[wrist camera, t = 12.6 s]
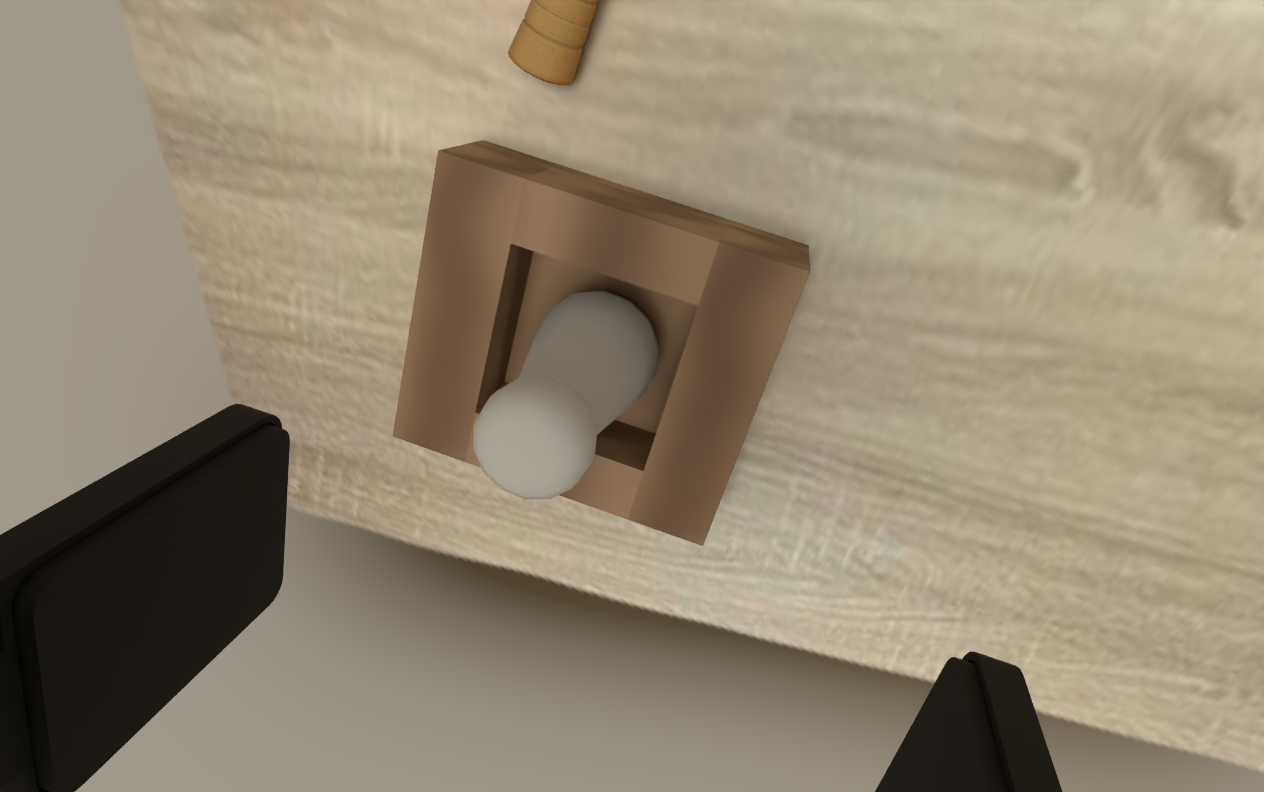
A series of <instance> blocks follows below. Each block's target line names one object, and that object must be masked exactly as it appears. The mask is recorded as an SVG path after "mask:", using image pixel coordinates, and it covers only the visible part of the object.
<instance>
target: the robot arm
mask: <svg viewBox="0 0 1264 792" xmlns="http://www.w3.org/2000/svg"><path fill="white" fill-rule="evenodd" d="M289 445H290V439H289V434H288V432H287V431H286V430H284V429H282V424H281V422H280V419H279V418H278V417H276V416H275V415H272V414H269V413H266V412H263V411H260V410H257V409H254V408H251V407H248V406H245V405H242V404H234V405H231V406H229V407H227V408H225V409H224V410H222V411H220V412H218V413H217V414H215V415H213V416H211V417H209V418H207V419H206V420H204V421H202V422H200V423H199V424H197V425H195V426H193V427H191V428H190V429H188V430H186V431H184V432H183V433H181V434H179V435H178V436H175V437H174V438H172V439H170V440H168V441H167V442H165V443H163V444H161V445H159V446H158V447H156V448H154V449H152V450H151V451H149V452H147V453H145V454H143V455H142V456H140V457H138V458H136V459H134V460H133V461H131V462H129V463H127V464H126V465H124V466H122V467H120V468H118V469H117V470H115V471H113V472H111V473H110V474H108V475H106V476H104V477H102V478H101V479H99V480H97V481H95V482H94V483H92V484H90V485H88V486H86V487H85V488H83V489H81V490H79V491H78V492H76V493H74V494H72V495H70V496H69V497H67V498H65V499H63V500H61V501H60V502H58V503H56V504H54V505H53V506H51V507H49V508H47V509H45V510H44V511H42V512H40V513H39V514H37V515H35V516H33V517H31V518H29V519H28V520H26V521H24V522H22V523H21V524H19V525H17V526H15V527H13V528H12V529H10V530H8V531H6V532H5V533H3V534H1V535H0V792H74V791H76V790H77V789H78V788H79V787H81V786H82V785H83V784H84V783H85V782H86V781H87V780H88V779H89V778H90V777H91V776H92V775H93V774H94V773H96V772H97V771H98V770H99V769H100V768H101V767H102V766H103V765H104V764H105V763H106V762H107V761H108V760H109V759H110V758H111V757H112V756H113V755H114V754H115V753H116V752H117V751H118V750H119V749H120V748H122V746H124V745H125V743H127V742H128V741H129V740H130V739H131V738H132V737H133V736H134V735H135V734H136V733H137V732H138V731H139V730H140V729H141V728H142V727H143V726H144V725H145V724H146V723H147V722H149V721H150V720H151V719H152V717H154V716H155V715H156V714H157V713H158V712H159V711H160V710H161V709H162V708H163V707H164V706H165V705H166V704H167V703H168V702H169V701H170V700H171V699H172V698H173V697H174V696H176V695H177V693H179V692H180V691H181V689H183V688H184V687H185V686H186V685H187V684H188V683H189V682H190V681H191V680H192V679H193V678H194V677H195V676H196V675H197V674H198V673H199V672H200V671H201V670H202V669H204V668H205V667H206V665H208V664H209V663H210V662H211V661H212V660H213V659H214V658H215V657H216V656H217V655H218V654H219V653H220V652H221V651H222V650H223V649H224V648H225V647H226V646H227V645H228V644H230V643H231V642H232V641H233V640H234V639H235V638H236V637H237V636H238V635H239V634H240V633H241V632H242V631H243V630H244V629H245V628H246V627H247V626H248V625H249V624H250V623H251V622H252V621H253V620H254V619H256V618H257V616H259V615H260V614H261V613H262V612H263V611H264V610H265V609H266V608H267V607H268V606H269V605H270V604H271V603H272V602H273V600H274V599H275V597H276V596H277V594H278V592H279V590H280V587H281V584H282V580H283V566H284V564H283V563H284V546H285V525H286V505H287V485H288V465H289ZM875 792H1062V789H1061V786H1060V784H1059V780H1058V777H1057V774H1056V772H1055V769H1054V766H1053V763H1052V760H1051V757H1050V754H1049V751H1048V748H1047V745H1046V742H1045V739H1044V736H1043V733H1042V730H1041V727H1040V724H1039V721H1038V718H1037V715H1036V712H1035V709H1034V706H1033V703H1032V700H1031V697H1030V694H1029V691H1028V688H1027V685H1026V682H1025V679H1024V676H1023V674H1022V672H1021V670H1020V668H1018V667H1017V666H1015V665H1012V664H1009V663H1006V662H1003V661H1000V660H997V659H994V658H991V657H988V656H985V655H982V654H979V653H977V652H969V653H968V654H966V655H965V656H964V658H963V659H962V660H961V659H958V658H955V657H952V658H950V659H949V660H948V661H947V663H946V664H945V666H944V668H943V669H942V671H941V673H940V675H939V677H938V679H937V680H936V682H935V684H934V686H933V688H932V689H931V691H930V693H929V695H928V697H927V698H926V700H925V702H924V704H923V706H922V708H921V709H920V711H919V713H918V715H917V717H916V718H915V720H914V722H913V724H912V726H911V728H910V729H909V731H908V733H907V735H906V737H905V738H904V740H903V742H902V744H901V746H900V748H899V749H898V751H897V753H896V755H895V757H894V758H893V760H892V762H891V764H890V766H889V767H888V769H887V771H886V773H885V775H884V777H883V779H882V780H881V782H880V784H879V786H878V787H877V789H876V791H875Z"/></svg>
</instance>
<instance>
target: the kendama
mask: <svg viewBox="0 0 1264 792" xmlns="http://www.w3.org/2000/svg"><path fill="white" fill-rule="evenodd" d="M598 1H599V0H531V2H530V4H529V7H528V9H527V11H526V14H525V19H524V20H523V21H522V23H521V25H520V27H519V29H518V31H517V33H516V35H515V38H514V40H513V42H512V44H511V46H510V48H509V52H508V54H509V57H510V58H511V59H512V61H513V62H514V63H515V64H516V65H517V66H519V67H520V68H522V69H523V70H524V71H525V72H527V73H529V74H531V75H533V76H534V77H536V78H539V79H541V80H543V81H546V82H549V83H553V84H558V85H569V84H571V83H572V82H573V79H574V77H575V73H576V70H577V66H578V63H579V60H580V57H581V53H582V46H583V45H584V43H585V41H586V38H587V35H588V31H589V28H590V24H591V22H592V19H593V16H594V13H595V10H596V8H597V4H596V3H597V2H598Z"/></svg>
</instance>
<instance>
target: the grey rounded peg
mask: <svg viewBox="0 0 1264 792" xmlns="http://www.w3.org/2000/svg"><path fill="white" fill-rule="evenodd" d="M658 351H659V345H658V342H657V339H656V336H655V333H654V331H653V328H652V325H651V322H650V320H649V319H648V318H647V317H646V316H645V315H644V314H643V313H642V312H641V311H640V310H639V309H638V308H637V307H636V306H635V305H634V303H633V302H632V301H631V300H628V299H626V298H623V297H621V296H618V295H616V294H613V293H611V292H608V291H605V290H599V291H583V292H576V293H574V294H572V295H570V296H569V297H567V298H566V299H564V300H562V301H561V302H559V303H557V304H556V305H554V306H552V307H551V308H550V310H549V312H548V313H547V315H546V316H545V318H544V320H543V321H542V323H541V325H540V326H539V328H538V329H537V332H536V335H535V337H534V340H533V342H532V345H531V347H530V350H529V353H528V355H527V358H526V360H525V363H524V365H523V368H522V371H521V373H520V376H519V378H518V379H516V380H514V381H513V382H511V383H509V384H508V385H506V386H504V387H502V388H501V389H499V390H497V391H496V392H495V393H494V394H493V395H491V396H490V398H489V399H488V401H487V402H486V404H485V406H484V407H483V409H482V411H481V412H480V414H479V415H478V417H477V419H476V422H475V424H474V429H473V450H474V452H475V454H476V457H477V459H478V461H479V463H480V466H481V468H482V470H483V472H484V473H485V474H486V475H487V476H488V477H489V478H490V479H491V480H493V481H494V482H495V483H496V484H497V485H498V486H499V487H500V488H501V489H502V490H505V491H507V492H510V493H512V494H514V495H517V496H519V497H521V498H524V499H551V498H553V497H555V496H558V495H560V494H562V493H564V492H566V491H568V490H570V489H572V488H573V487H574V486H575V485H576V484H577V483H578V482H579V480H580V479H581V477H582V476H583V475H584V473H585V472H586V470H587V469H588V467H589V466H590V464H591V463H592V460H593V458H594V455H595V448H596V439H597V434H599V433H600V432H601V431H602V430H603V429H604V428H606V427H607V426H608V425H609V424H610V423H611V422H612V421H614V420H615V419H616V418H617V417H618V416H619V415H621V414H622V413H623V412H624V411H625V410H626V409H628V408H629V407H630V406H631V405H632V404H633V403H635V402H636V401H637V400H638V399H639V398H640V397H641V396H642V394H643V393H644V391H645V390H646V389H647V387H648V386H649V384H650V383H651V381H652V380H653V378H654V377H655V373H656V365H657V358H658Z"/></svg>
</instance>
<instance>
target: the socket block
mask: <svg viewBox="0 0 1264 792" xmlns="http://www.w3.org/2000/svg"><path fill="white" fill-rule="evenodd" d="M809 273H810V263H809V246H808V245H805V244H802V243H799V242H796V241H792V240H789V239H786V238H783V237H780V236H777V235H774V234H771V233H768V232H765V231H762V230H758V229H755V228H752V227H749V226H746V225H743V224H740V223H737V222H734V221H731V220H728V219H725V218H721V217H718V216H715V215H712V214H709V213H706V212H703V211H700V210H697V209H694V208H691V207H687V206H684V205H681V204H678V203H675V202H672V201H669V200H666V199H663V198H660V197H657V196H653V195H650V194H647V193H644V192H641V191H638V190H635V189H632V188H629V187H626V186H623V185H619V184H616V183H613V182H610V181H607V180H604V179H601V178H598V177H595V176H592V175H589V174H585V173H582V172H579V171H576V170H573V169H570V168H567V167H564V166H561V165H558V164H555V163H551V162H548V161H545V160H542V159H539V158H536V157H533V156H530V155H527V154H524V153H521V152H518V151H514V150H511V149H508V148H505V147H502V146H499V145H496V144H493V143H490V142H487V141H484V140H482V141H478V142H474V143H469V144H465V145H461V146H456V147H452V148H448V149H443V150H439V151H438V156H437V162H436V168H435V175H434V181H433V187H432V194H431V200H430V206H429V212H428V219H427V225H426V231H425V237H424V244H423V250H422V256H421V262H420V269H419V275H418V281H417V288H416V294H415V300H414V306H413V313H412V319H411V325H410V331H409V338H408V344H407V350H406V357H405V363H404V369H403V375H402V382H401V388H400V394H399V400H398V407H397V413H396V419H395V425H394V432H393V437H396V438H399V439H402V440H405V441H407V442H410V443H413V444H416V445H419V446H422V447H424V448H427V449H430V450H433V451H436V452H439V453H441V454H444V455H447V456H450V457H453V458H456V459H458V460H461V461H464V462H467V463H470V464H473V465H475V466H478V467H481V466H480V463H479V461H478V459H477V457H476V454H475V452H474V450H473V429H474V424H475V422H476V419H477V417H478V415H479V414H480V412H481V411H482V409H483V407H484V406H485V404H486V402H487V401H488V399H489V398H490V396H491V395H493V394H494V393H495V392H496V391H497V390H499V389H501V388H502V387H504V386H506V385H508V384H509V383H511V382H513V381H514V380H516V379H518V378H519V376H520V373H521V371H522V368H523V365H524V363H525V360H526V358H527V355H528V353H529V350H530V347H531V345H532V342H533V340H534V337H535V335H536V332H537V329H538V328H539V326H540V325H541V323H542V321H543V320H544V318H545V316H546V315H547V313H548V312H549V310H550V308H551V307H552V306H554V305H556V304H557V303H559V302H561V301H562V300H564V299H566V298H567V297H569V296H570V295H572V294H574V293H576V292H583V291H599V290H605V291H608V292H611V293H613V294H616V295H618V296H621V297H623V298H626V299H628V300H631V301H632V302H633V303H634V305H635V306H636V307H637V308H638V309H639V310H640V311H641V312H642V313H643V314H644V315H645V316H646V317H647V318H648V319H649V320H650V322H651V325H652V328H653V331H654V333H655V336H656V339H657V342H658V345H659V351H658V358H657V365H656V373H655V377H654V378H653V380H652V381H651V383H650V384H649V386H648V387H647V389H646V390H645V391H644V393H643V394H642V396H641V397H640V398H639V399H638V400H637V401H636V402H635V403H633V404H632V405H631V406H630V407H629V408H628V409H626V410H625V411H624V412H623V413H622V414H621V415H619V416H618V417H617V418H616V419H615V420H614V421H612V422H611V423H610V424H609V425H608V426H607V427H606V428H604V429H603V430H602V431H601V432H600V433H599V434H597V439H596V448H595V455H594V458H593V460H592V463H591V464H590V466H589V467H588V469H587V470H586V472H585V473H584V475H583V476H582V477H581V479H580V480H579V482H578V483H577V484H576V485H575V486H574V487H573V488H572V489H570V490H568V491H566V492H564V493H562V494H560V496H563V497H566V498H569V499H571V500H574V501H577V502H580V503H583V504H586V505H588V506H591V507H594V508H597V509H600V510H603V511H605V512H608V513H611V514H614V515H617V516H620V517H622V518H625V519H628V520H631V521H634V522H637V523H639V524H642V525H645V526H648V527H651V528H653V529H656V530H659V531H662V532H665V533H668V534H670V535H673V536H676V537H679V538H682V539H685V540H687V541H690V542H693V543H696V544H699V545H702V546H703V544H704V542H705V539H706V537H707V534H708V532H709V529H710V526H711V524H712V521H713V519H714V516H715V514H716V511H717V509H718V506H719V503H720V501H721V498H722V496H723V493H724V491H725V488H726V485H727V483H728V480H729V478H730V475H731V473H732V470H733V468H734V465H735V462H736V460H737V457H738V455H739V452H740V450H741V447H742V445H743V442H744V439H745V437H746V434H747V432H748V429H749V427H750V424H751V422H752V419H753V416H754V414H755V411H756V409H757V406H758V404H759V401H760V398H761V396H762V393H763V391H764V388H765V386H766V383H767V381H768V378H769V375H770V373H771V370H772V368H773V365H774V363H775V360H776V358H777V355H778V352H779V350H780V347H781V345H782V342H783V340H784V337H785V334H786V332H787V329H788V327H789V324H790V322H791V319H792V317H793V314H794V311H795V309H796V306H797V304H798V301H799V299H800V296H801V294H802V291H803V288H804V286H805V283H806V281H807V278H808V276H809Z"/></svg>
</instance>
